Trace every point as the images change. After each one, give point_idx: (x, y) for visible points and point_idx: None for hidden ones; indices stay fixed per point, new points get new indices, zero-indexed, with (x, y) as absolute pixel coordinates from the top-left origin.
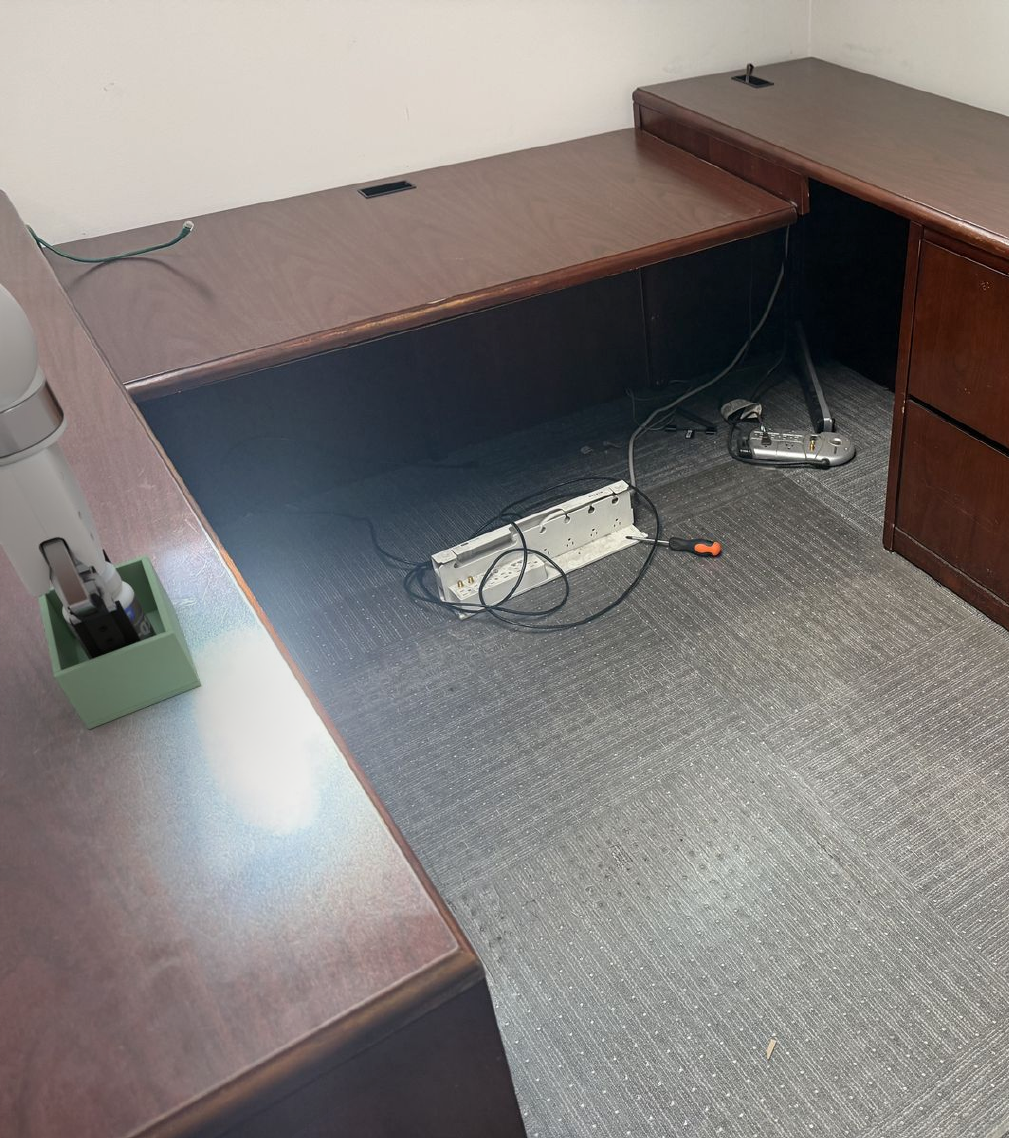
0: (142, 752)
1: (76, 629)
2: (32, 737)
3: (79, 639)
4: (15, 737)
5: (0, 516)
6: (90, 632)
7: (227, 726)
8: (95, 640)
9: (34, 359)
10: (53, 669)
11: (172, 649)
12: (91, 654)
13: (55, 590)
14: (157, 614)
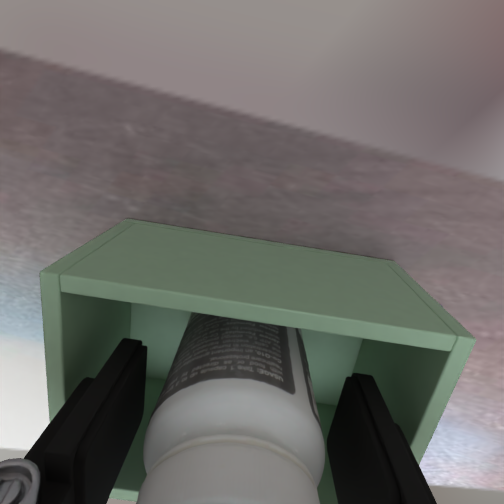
0: (21, 265)
1: (66, 421)
2: (173, 133)
3: (210, 341)
4: (195, 106)
5: None
6: (42, 435)
7: (11, 368)
8: (62, 408)
9: None
10: (76, 278)
11: None
12: (116, 349)
13: (216, 500)
14: (332, 391)
